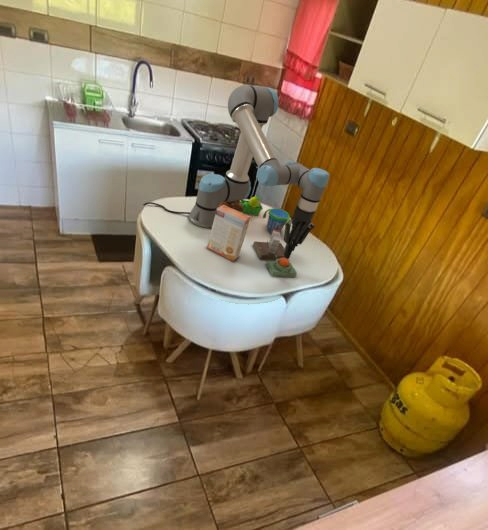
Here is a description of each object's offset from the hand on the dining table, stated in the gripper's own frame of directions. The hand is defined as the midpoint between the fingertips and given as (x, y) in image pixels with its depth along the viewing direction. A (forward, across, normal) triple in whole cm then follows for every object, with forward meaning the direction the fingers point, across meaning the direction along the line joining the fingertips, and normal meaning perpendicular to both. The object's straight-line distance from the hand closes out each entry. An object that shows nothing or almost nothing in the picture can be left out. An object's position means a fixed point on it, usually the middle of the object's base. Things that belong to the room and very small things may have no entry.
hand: (286, 256), depth 163 cm
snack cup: (+8, -10, -35) cm, 37 cm away
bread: (+8, +12, -53) cm, 55 cm away
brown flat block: (+8, 0, -14) cm, 16 cm away
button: (+4, 0, 0) cm, 4 cm away
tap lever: (+5, 0, -14) cm, 15 cm away
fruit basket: (+8, -2, -52) cm, 53 cm away
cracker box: (+8, +24, -12) cm, 28 cm away
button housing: (+8, 0, 0) cm, 8 cm away
